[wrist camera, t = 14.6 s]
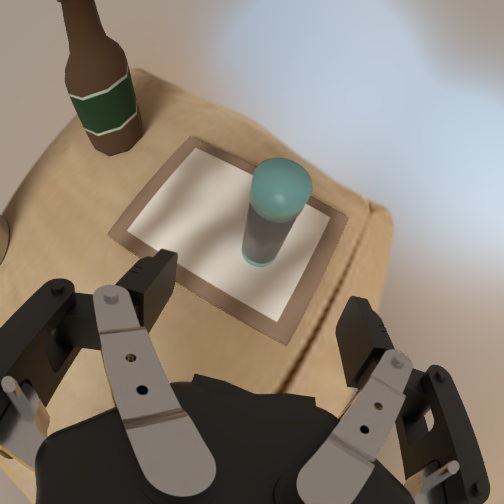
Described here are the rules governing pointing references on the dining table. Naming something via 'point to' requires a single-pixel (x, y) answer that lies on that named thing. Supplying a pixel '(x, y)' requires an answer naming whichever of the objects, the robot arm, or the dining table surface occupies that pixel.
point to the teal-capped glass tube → (273, 208)
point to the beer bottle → (99, 81)
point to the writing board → (228, 239)
